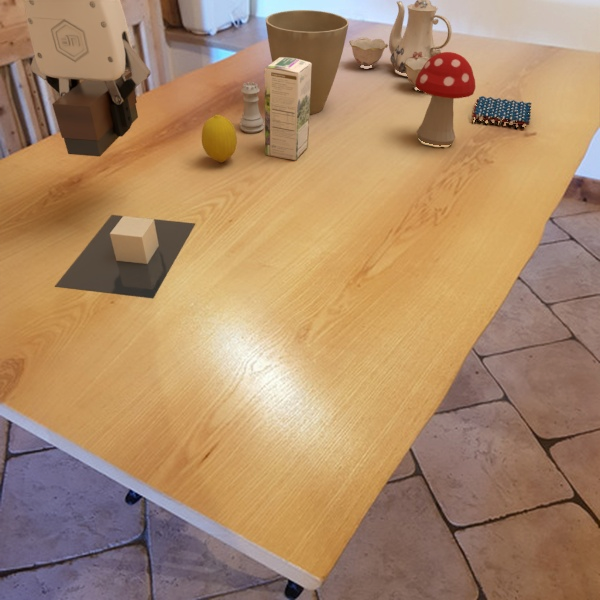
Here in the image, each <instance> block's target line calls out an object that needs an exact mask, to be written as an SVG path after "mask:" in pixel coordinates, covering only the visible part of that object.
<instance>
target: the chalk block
mask: <svg viewBox="0 0 600 600" xmlns="http://www.w3.org/2000/svg"><path fill="white" fill-rule="evenodd" d="M122 216H123V217H122V218H121V220H120V221H119V222H118V224H117V225H116V226H115V227H114V229H113V230H112V231H111V233H110V236H111V240H112V244H113V248H114V252H115V256H116V260H117V261H124V262H133V263H142V264H148V262H149V261H150V259H151V257H152V256H153V254H154V253H155V251H156V249H157V248H158V246H159V244H158V239H157V233H156V228H155V222H154V219H155V218H148V219H147V217H138V216H128V217H127V215H122ZM137 217H138V218H137Z"/></svg>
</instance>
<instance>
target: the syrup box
mask: <svg viewBox="0 0 600 600" xmlns="http://www.w3.org/2000/svg"><path fill="white" fill-rule="evenodd" d="M271 62H272V61H271ZM311 67H312V63H310V62H307V61H304V60H300V59H295V58H286V57H279V58H278V59H277V60H275V61H274V62H272V63H270V64H268V65H267V66H265V67H264V138H265V139H264V141H265V142H264V154H265V155H266V156H269V157H275V158H281V159H284V160H285V159H286V160H292V161H297V160H298V159H299V158H300V156H301V155H303V154H304V152H305V151H306V150H307V149H308V147H309V132H310V114H309V113H310V90H311Z"/></svg>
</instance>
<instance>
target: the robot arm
mask: <svg viewBox="0 0 600 600" xmlns="http://www.w3.org/2000/svg"><path fill="white" fill-rule="evenodd" d="M23 3H24V12H25V18H26V25H27V29H28V33H29V38H30V41H31V47H32V50H33V51H32V52H33V54H34V55H33V57H32V61H31V64H30V65H29V66H30V71H31V72H32V73H34V74H35V75H36V76H38V77H39V78H40V79H42V80H44V81H46V82H47V84H48V85H49V86H50V87H51V88H53V89H54V91H56V92H57V93H58V94H59V98H61V97H62V96H63V95H65V94H66V93H67V92H69V91H70V90H71V89H73V88H74V87H75V86H77V85H78V84H79V83H81V80H82V81H83V80H96V81H104V82H105V84H106V86H107V89H108V91H109V93H110V95H111V98H112V101H113V103H112V104H111V105H110V111H111V115H112V120H113V124H114V130H115V134H116V135H117V136H119V138H120V137H121V138H122V137H123V136H124V135H126V133H127V132H129V130H130V129H131V128H132V125H133V123H132V117H131V112H130V107H129V102H128V97H129V96H130V95H131V93H132V92H133V91H134V90H136V88H137V87H138V86H139V85H140V84H142V83H143V82H144V81H145V80H147V79H148V78H149V77H150V76H151V74H152V72H151V70H150V68H149V67H148V66H147V65H146V63H145V62H144V61H143V59H142V58H141V57H140V56H139V55H138V53H137V52H136V51H135V50H134V47H133V44H132V39H131V34H130V29H129V25H128V22H127V19H126V15H125V11H124V8H123V4H122V2H121V0H23ZM128 70H131V74H132V76H131V77H129V78H128V79H127V80H126V78H125V76H124V72H125V71H128Z"/></svg>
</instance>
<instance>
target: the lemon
mask: <svg viewBox="0 0 600 600" xmlns="http://www.w3.org/2000/svg"><path fill="white" fill-rule="evenodd" d="M237 139H238V137H237V132H236V129H235V126H234V125H233V123H232V122H231V120H229V119H228V118H227V117H225V116H222V115H220V114H218V113H217V114H214V115H213V116H211V117H209V118H208V119H207V120H206V121H205V123H204V124H203V126H202V129H201V144H202V148H203V150H204V152H205V153H206V155H207V156H208V157H209V158H210V159H212V160H214V161H217V162H218V163H221V164H222V163H224V162H225V161H226V160H228V159H231V157H232V156H233V155H234V154H235V152H236V150H237V145H238V144H237V143H238V140H237Z"/></svg>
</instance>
